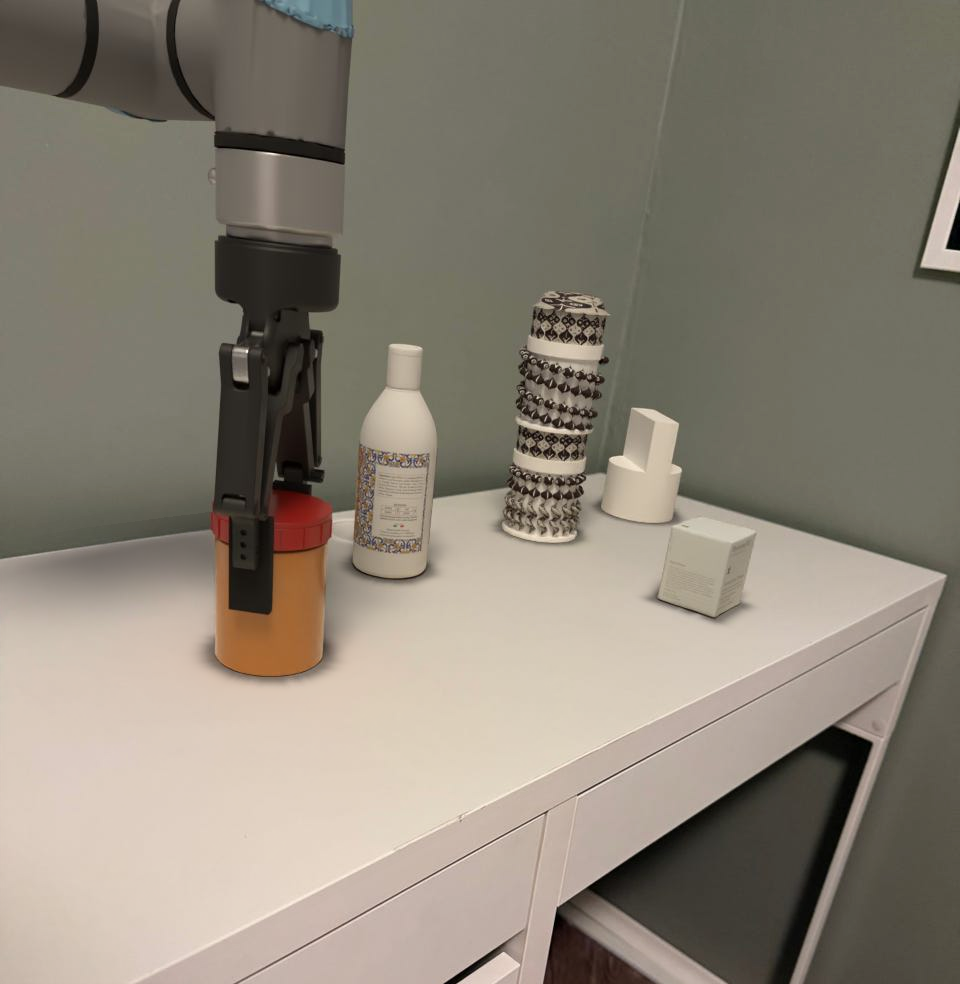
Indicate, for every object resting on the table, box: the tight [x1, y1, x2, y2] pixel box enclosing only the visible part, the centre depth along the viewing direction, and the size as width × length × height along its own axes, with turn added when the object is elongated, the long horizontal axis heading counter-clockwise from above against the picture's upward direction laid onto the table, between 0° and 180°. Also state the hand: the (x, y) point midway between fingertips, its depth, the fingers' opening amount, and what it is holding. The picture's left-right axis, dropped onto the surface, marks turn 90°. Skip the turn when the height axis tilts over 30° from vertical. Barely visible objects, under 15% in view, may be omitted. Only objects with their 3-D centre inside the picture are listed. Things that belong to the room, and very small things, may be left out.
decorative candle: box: [501, 290, 611, 544], centre depth 98 cm, size 9×9×25 cm
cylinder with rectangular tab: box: [600, 407, 683, 524], centre depth 113 cm, size 9×9×12 cm
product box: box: [657, 516, 757, 618], centre depth 86 cm, size 6×6×7 cm
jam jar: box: [214, 535, 329, 677], centre depth 65 cm, size 8×8×11 cm
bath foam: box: [352, 343, 439, 579], centre depth 82 cm, size 7×7×20 cm
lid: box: [210, 490, 333, 551], centre depth 63 cm, size 8×8×2 cm
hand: (271, 587), depth 65 cm, fingers closed on lid, 8 cm apart
